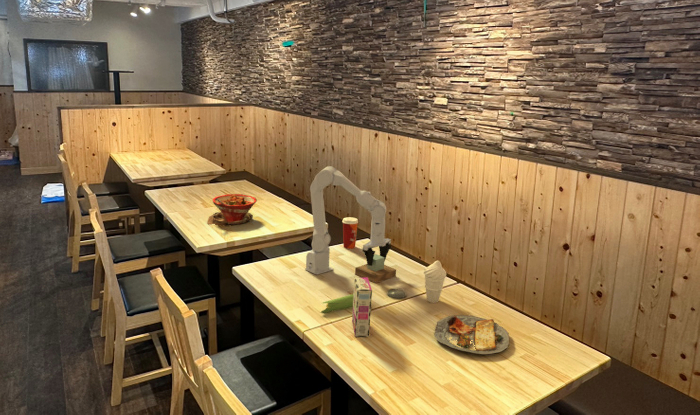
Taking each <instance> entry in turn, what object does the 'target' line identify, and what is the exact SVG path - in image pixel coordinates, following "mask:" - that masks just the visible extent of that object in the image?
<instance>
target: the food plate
mask: <svg viewBox="0 0 700 415" xmlns="http://www.w3.org/2000/svg"><path fill="white" fill-rule="evenodd" d="M470 332H471V333H472V334H471V333H470ZM433 336H434V338H435V339H436V341H437V342H439V343H441V344H443V345H447V346H448V347H450V348H453V349H455V350H458V351H461V352H467V353H471V354H479V355H491V354H496V353H500V352H503V351H505V350H506V349H508V347H509V344H510V343H509V342H510V341H509V340H510V334H509V332H508V331H507V329H506V328H504V327H502V326H501V325H500V324H498V323H497V322H495V320H494V319H492V318H491V319H486V318H482V317H478V316H475V315H469V314H467V315H465V314H459V315H458V314H457V315H455V314H453V315H448V316H446V317H444V318H440V319H439V320H438V321H437V322H436V326H435V329H434V332H433ZM471 336H472V337H471ZM456 340H457V341H456ZM471 340H473V341H471ZM451 341H452V342H451ZM453 341H456V345H455V344H454V343H453ZM470 341H471V342H473V343H474V345H475V346H474V345H473V343H472V344H470ZM457 345H458V346H457ZM460 346H461V347H460ZM470 346H474V347H475V349H476V350H474V349H469V348H470ZM462 347H463V348H462ZM468 347H469V348H468ZM474 347H473V348H474Z"/></svg>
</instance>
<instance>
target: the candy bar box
mask: <svg viewBox="0 0 700 415" xmlns="http://www.w3.org/2000/svg"><path fill="white" fill-rule="evenodd" d="M353 279H354V280H353V281H354V285H353V294H354V295H353V308H352V314H351V316H352V319H351V323H352V329H353V335H354V338H357V337H358V338H369V337H370V326H371V311H372V298H373V296H372V295H373V289H372V286H371V283H370V282H371V281H370V280H369V279H368V277H360V276H355V277H354V278H353Z"/></svg>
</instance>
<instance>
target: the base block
mask: <svg viewBox="0 0 700 415" xmlns="http://www.w3.org/2000/svg"><path fill="white" fill-rule="evenodd" d="M354 268H355V272H354V274H355V275H357V277H368V279H369V282H372V283H373V284H378V283H380V282H383V281H386V280H389V279H391V278H395V277H396V276H397V269H396V268H393V267H390V266H388V265H386V264H384V269H382V270H379V271H376V272H375V271H373V270H371V269H368V268H367V263H366V264H365V263H364V264H363V265H359V266H356V267H354Z"/></svg>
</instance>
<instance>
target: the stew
mask: <svg viewBox="0 0 700 415" xmlns="http://www.w3.org/2000/svg"><path fill="white" fill-rule="evenodd" d="M257 200H258V199H257V198H256V197H254V196H251V195H246V194H242V193H234V194H233V193H229V194H223V195H218V196H215V197H214V198H212V203H213V205H214V206H215V207H217V209H218V210H219V211H217V212H215V213H213V214H211V215H210V216H208V218H207V222H206V223H207V225H212V224H215V225H214V226H219V225H225V226H224V227H226V226H240V225H245V224H247V223H249V222H250V221H251V220H252V219H253V217H254V215H253V214H252V213H251V212H249V211H250V210H251V209H252V208H253V206H254V205H255V204H256V203H257Z"/></svg>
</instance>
